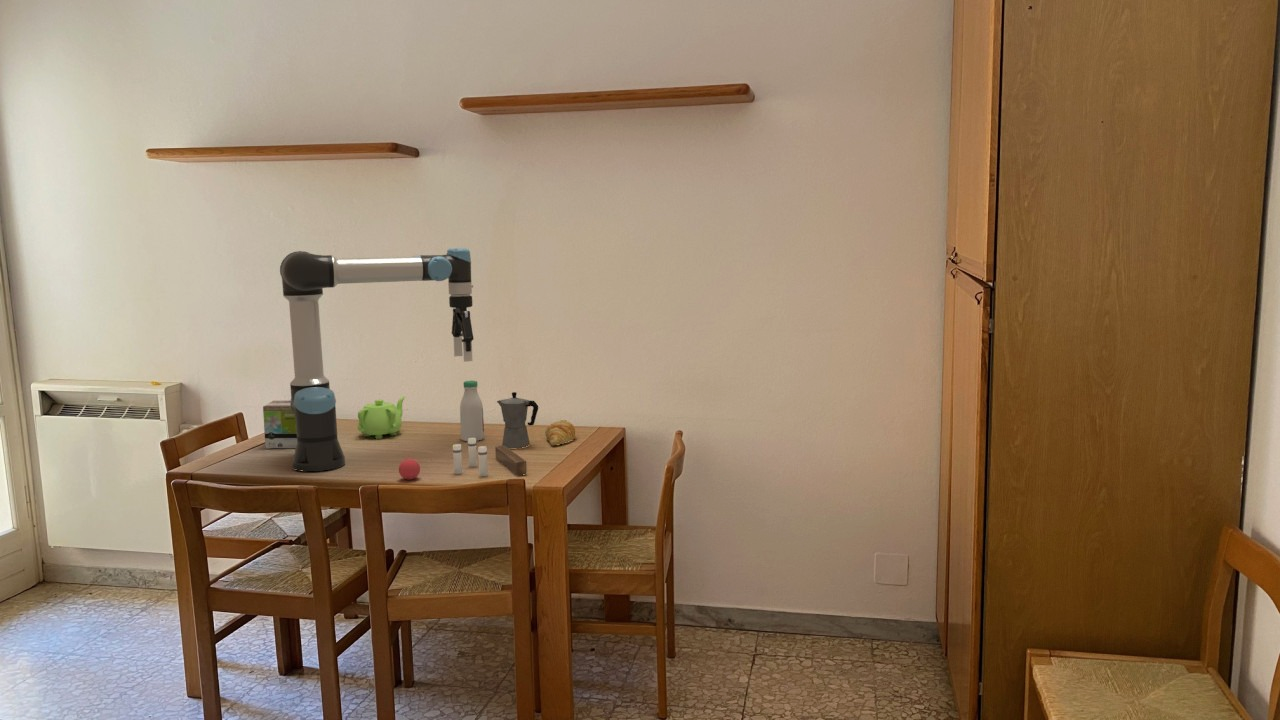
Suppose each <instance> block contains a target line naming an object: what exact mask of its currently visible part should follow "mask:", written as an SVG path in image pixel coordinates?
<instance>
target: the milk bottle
mask: <svg viewBox="0 0 1280 720" xmlns="http://www.w3.org/2000/svg"><path fill="white" fill-rule="evenodd" d="M463 390H464V391H463V396H462V398H461V401H460V405H459V410H460V411H459V420H460V421H459V423H460V438H461V440H462V441H463V442H468V438H476V442H479V440H480V441H482V439H483V440H484V439H485V426H484V424H485V422H484V421H485V420H484V407H483V401H482V399H481V397H480V395H479V392H478V381H477V380H465V381H463Z"/></svg>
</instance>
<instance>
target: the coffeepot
mask: <svg viewBox="0 0 1280 720" xmlns="http://www.w3.org/2000/svg"><path fill="white" fill-rule="evenodd" d="M517 393H518V392H515V391H513V392H511V396H512V397H510V398H505V399H499V400H497V401H496V403H497V404H499V406H500V409H501V414H502V420H503V422H504V430H503V437H502V444H501V446H506V447H507V448H522V447H526V446H528V445H529V446H530V444H531V443H530V438H529V434H528V428H527V426H526V422H527V416H528V408H529V407H532V413H531V417H530V422H527V425H528V426H533V425H535V421H536V417H537V416H538V415H537V414H538V411H539V405H538V404H537V402H536V401H535V400H529V399H525V398H520V397H517ZM526 448H527V447H526ZM522 449H523V448H522Z"/></svg>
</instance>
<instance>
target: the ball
mask: <svg viewBox="0 0 1280 720" xmlns="http://www.w3.org/2000/svg"><path fill="white" fill-rule="evenodd" d="M420 472H421V466H420V463H419V462H418V461H417V460H416V459H414V458H406V459H404V460H402V461H401V462H400V463H399V466H398V474H399V475H400V476H401V478H402V479H405V480H414V479H415V478H417V477H418V476H419V475H420Z"/></svg>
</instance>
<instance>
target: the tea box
mask: <svg viewBox="0 0 1280 720" xmlns="http://www.w3.org/2000/svg"><path fill="white" fill-rule="evenodd" d="M290 401H291V400H272V401H271V402H269V403H267V404H266V405H263V406H262V410H263V411H262V412H263V413H262V414H263V429H264V431H263V432H264V443H265V449H267V450H268V449H296V446H297V431H296V419H295V416H294V414H293V413H292V410H291V406H290Z"/></svg>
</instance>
